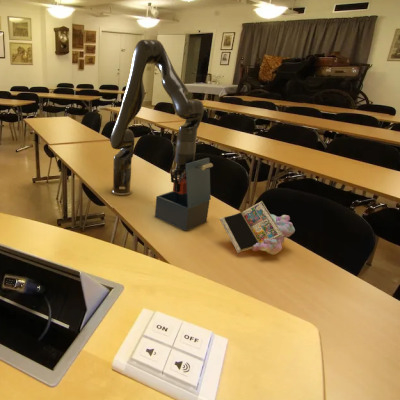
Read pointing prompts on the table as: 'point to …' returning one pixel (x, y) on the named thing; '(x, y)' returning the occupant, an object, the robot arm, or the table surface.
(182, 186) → the block
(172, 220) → the hinged navy chest
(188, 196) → the lid
